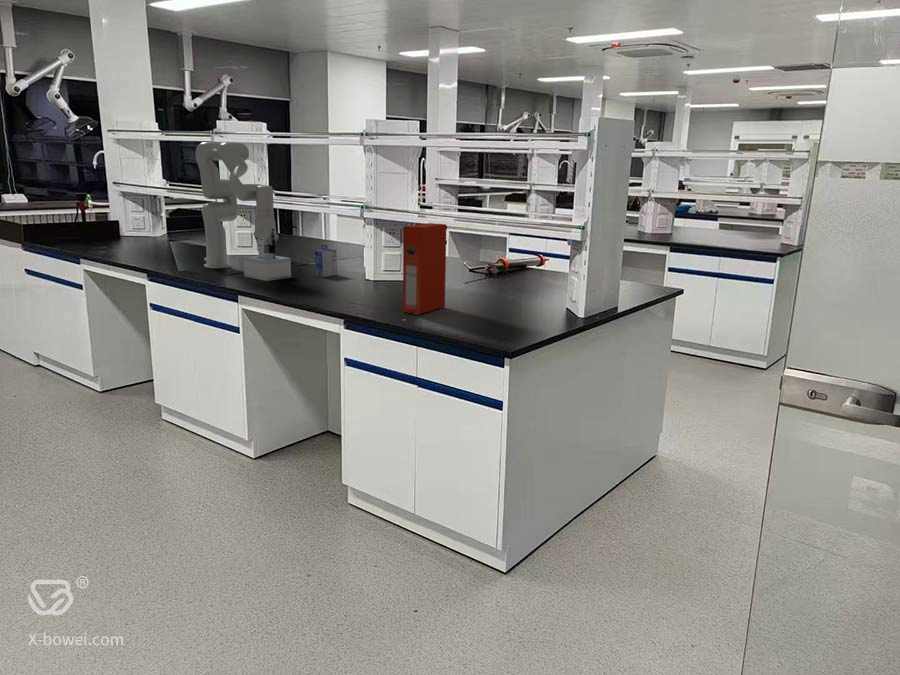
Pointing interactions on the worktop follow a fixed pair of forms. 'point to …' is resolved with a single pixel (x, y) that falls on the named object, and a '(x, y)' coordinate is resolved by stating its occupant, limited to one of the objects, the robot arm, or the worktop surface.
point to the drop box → (267, 268)
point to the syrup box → (264, 249)
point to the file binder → (424, 267)
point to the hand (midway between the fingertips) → (266, 252)
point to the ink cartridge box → (326, 262)
